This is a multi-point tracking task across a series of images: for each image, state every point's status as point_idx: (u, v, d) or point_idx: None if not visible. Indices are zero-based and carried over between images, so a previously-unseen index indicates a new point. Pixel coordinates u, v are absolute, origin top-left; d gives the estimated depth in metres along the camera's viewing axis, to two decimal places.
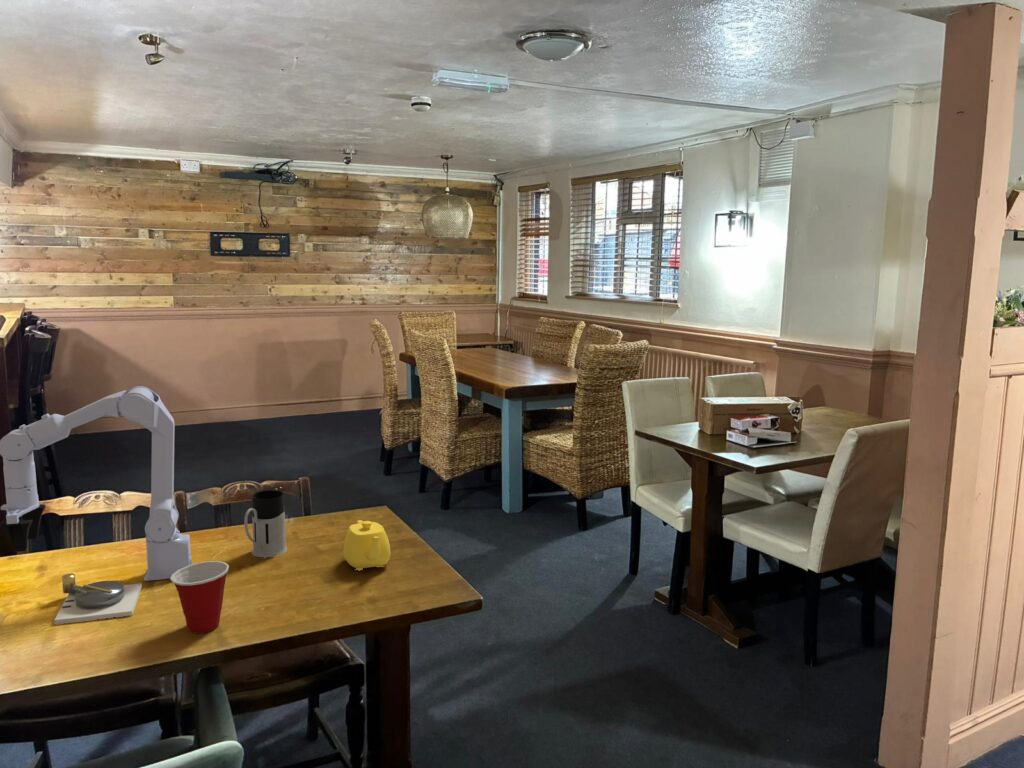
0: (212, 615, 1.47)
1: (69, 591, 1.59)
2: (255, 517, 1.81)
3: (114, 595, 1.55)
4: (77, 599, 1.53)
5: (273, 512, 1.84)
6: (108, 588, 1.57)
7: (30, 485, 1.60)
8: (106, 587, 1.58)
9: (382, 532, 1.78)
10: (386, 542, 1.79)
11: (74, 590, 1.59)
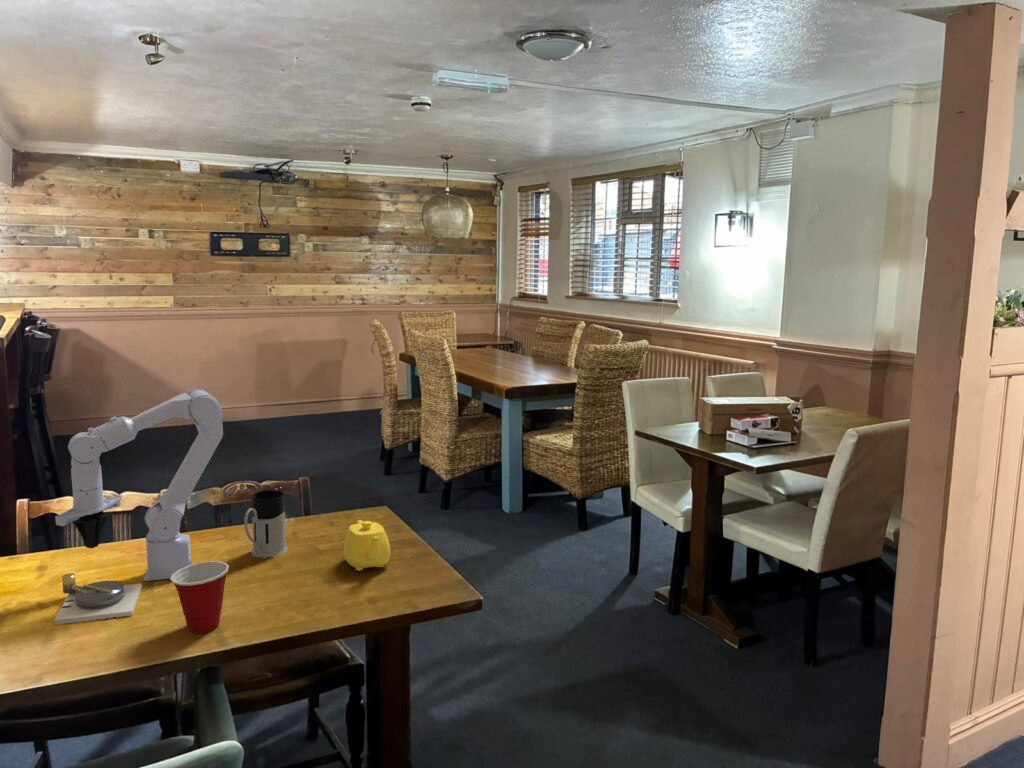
0: (212, 615, 1.47)
1: (69, 591, 1.59)
2: (255, 517, 1.81)
3: (114, 595, 1.55)
4: (77, 599, 1.53)
5: (273, 512, 1.84)
6: (108, 588, 1.57)
7: (99, 487, 1.62)
8: (106, 587, 1.58)
9: (382, 532, 1.78)
10: (386, 542, 1.79)
11: (74, 590, 1.59)
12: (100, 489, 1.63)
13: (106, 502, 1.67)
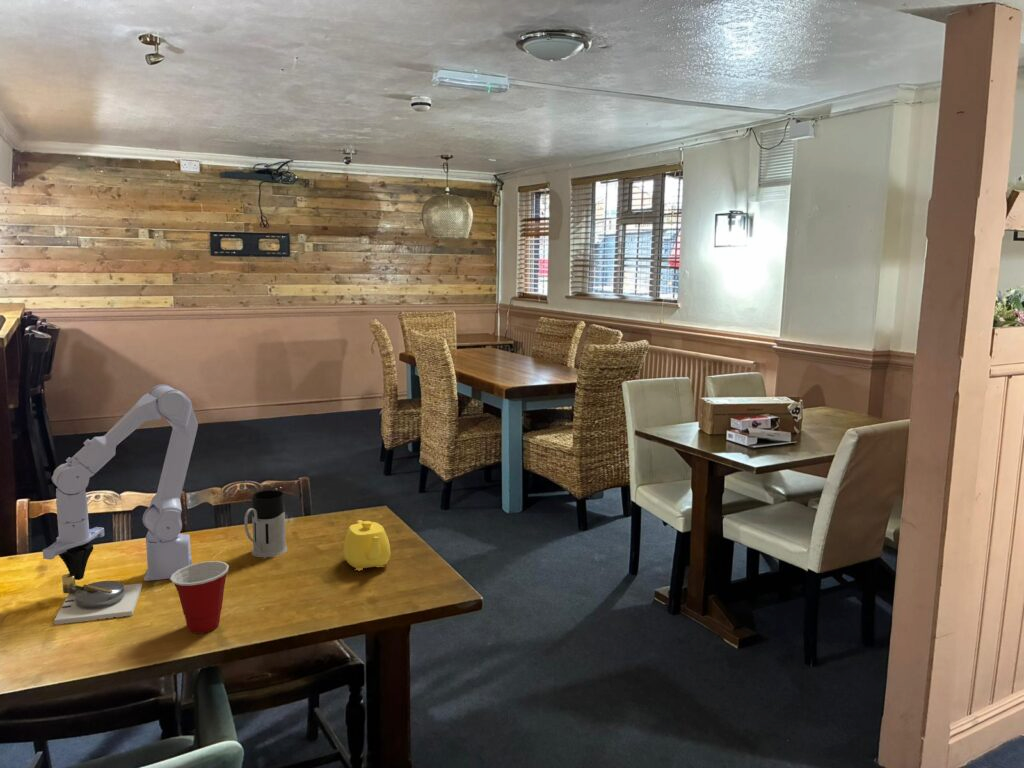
0: (212, 615, 1.47)
1: (69, 591, 1.59)
2: (255, 517, 1.81)
3: (114, 595, 1.55)
4: (77, 599, 1.53)
5: (273, 512, 1.84)
6: (108, 588, 1.57)
7: (86, 518, 1.60)
8: (106, 587, 1.58)
9: (382, 532, 1.78)
10: (386, 542, 1.79)
11: (74, 590, 1.59)
12: (87, 520, 1.60)
13: (90, 532, 1.65)
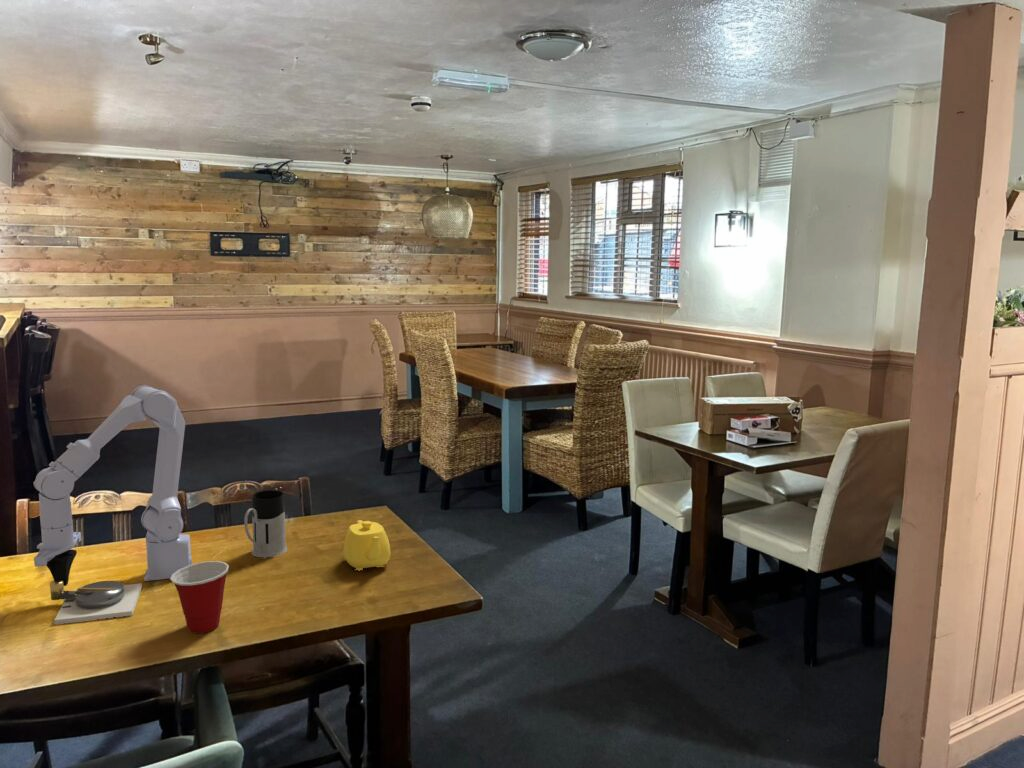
0: (212, 615, 1.47)
1: (60, 597, 1.56)
2: (255, 517, 1.81)
3: (120, 592, 1.57)
4: (82, 601, 1.53)
5: (273, 512, 1.84)
6: (108, 587, 1.58)
7: (70, 523, 1.57)
8: (105, 586, 1.58)
9: (382, 532, 1.78)
10: (386, 542, 1.79)
11: (67, 595, 1.56)
12: (72, 524, 1.58)
13: None
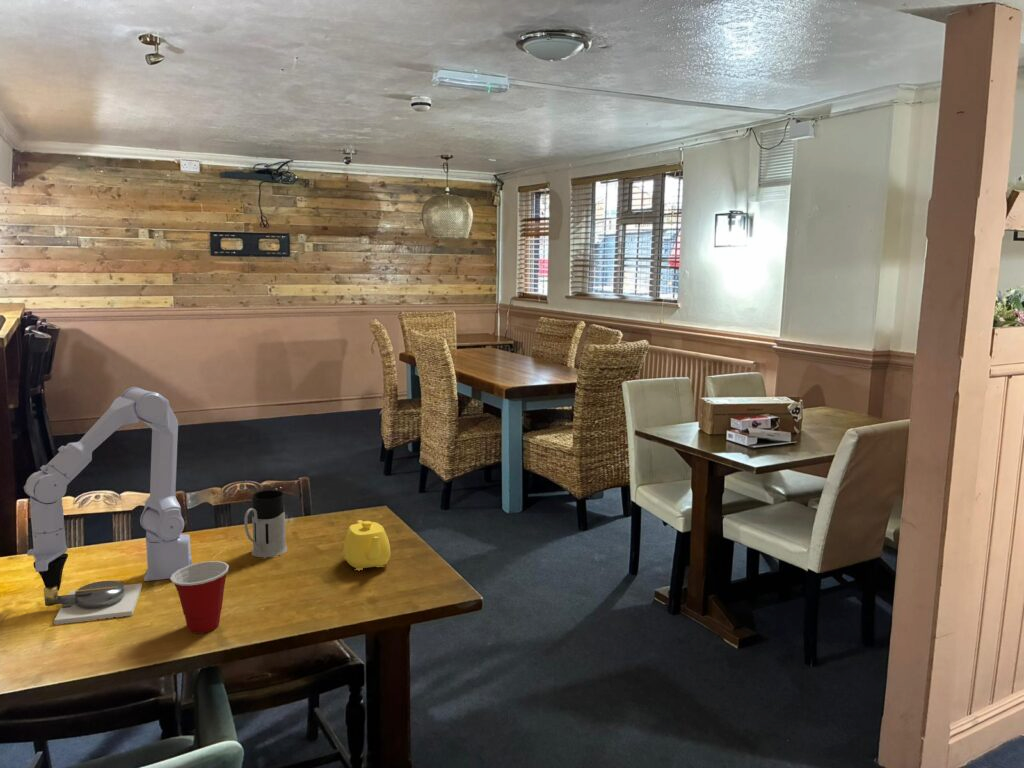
0: (212, 615, 1.47)
1: (56, 602, 1.54)
2: (255, 517, 1.81)
3: (123, 589, 1.58)
4: (89, 601, 1.53)
5: (273, 512, 1.84)
6: (107, 586, 1.58)
7: (63, 527, 1.54)
8: (103, 586, 1.58)
9: (382, 532, 1.78)
10: (386, 542, 1.79)
11: (64, 599, 1.54)
12: None
13: None
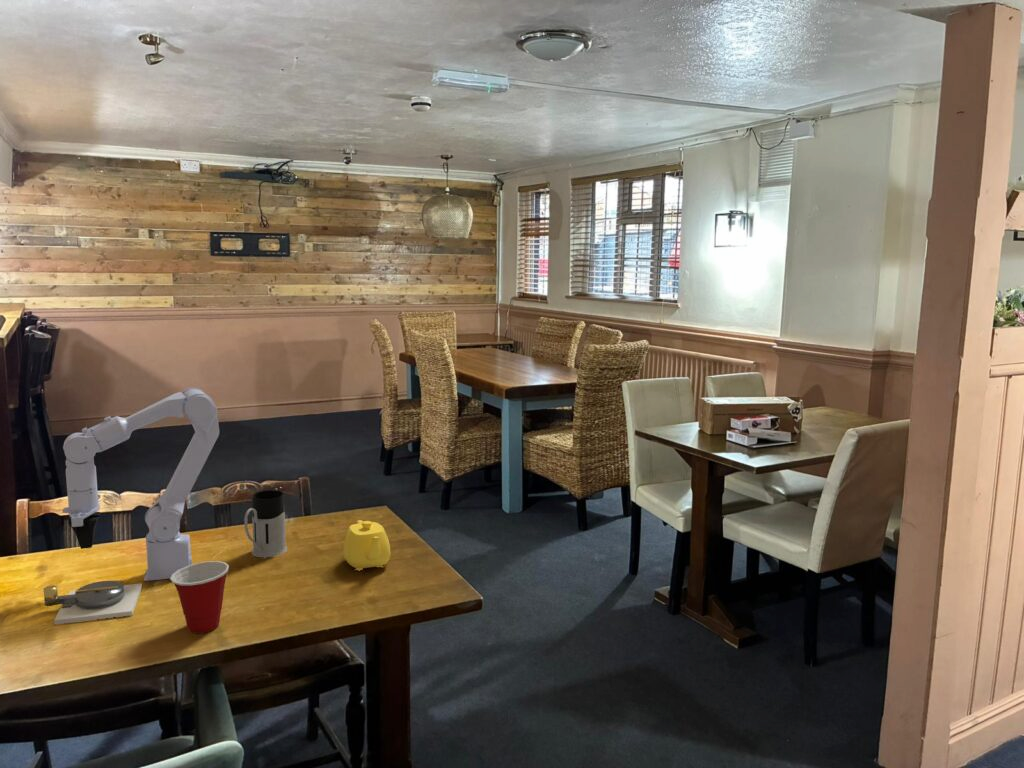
0: (212, 615, 1.47)
1: (56, 602, 1.54)
2: (255, 517, 1.81)
3: (123, 589, 1.58)
4: (89, 601, 1.53)
5: (273, 512, 1.84)
6: (107, 586, 1.58)
7: (94, 487, 1.62)
8: (103, 586, 1.58)
9: (382, 532, 1.78)
10: (386, 542, 1.79)
11: (64, 599, 1.54)
12: None
13: None
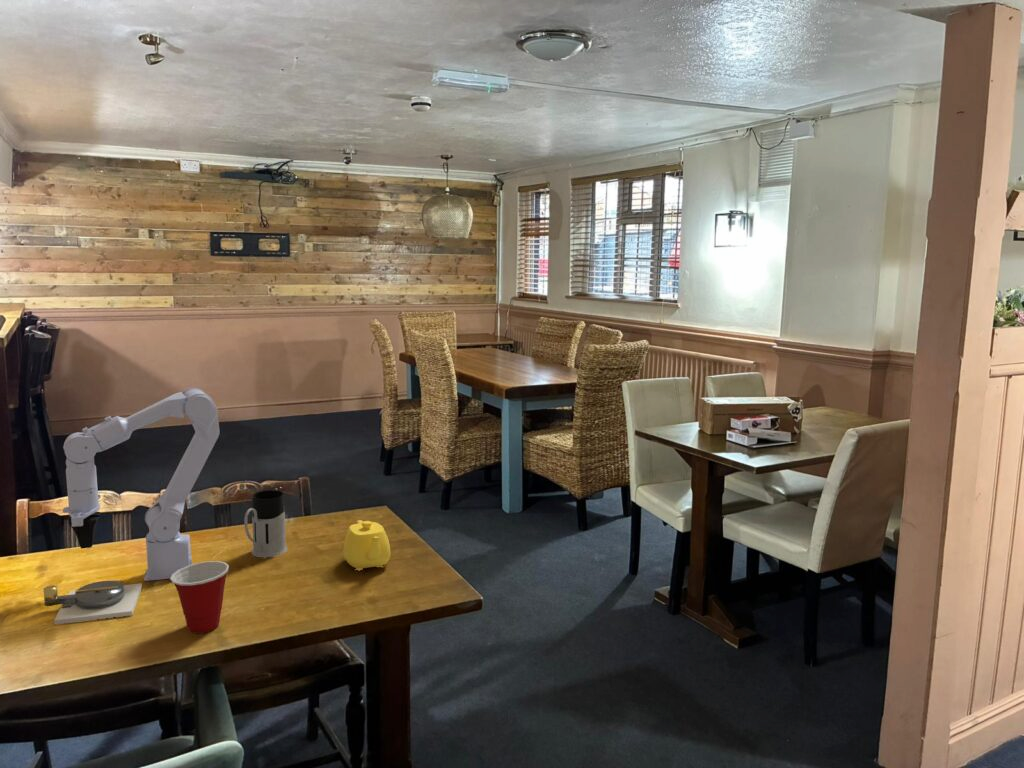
0: (212, 615, 1.47)
1: (56, 602, 1.54)
2: (255, 517, 1.81)
3: (123, 589, 1.58)
4: (89, 601, 1.53)
5: (273, 512, 1.84)
6: (107, 586, 1.58)
7: (94, 487, 1.62)
8: (103, 586, 1.58)
9: (382, 532, 1.78)
10: (386, 542, 1.79)
11: (64, 599, 1.54)
12: (97, 487, 1.64)
13: None
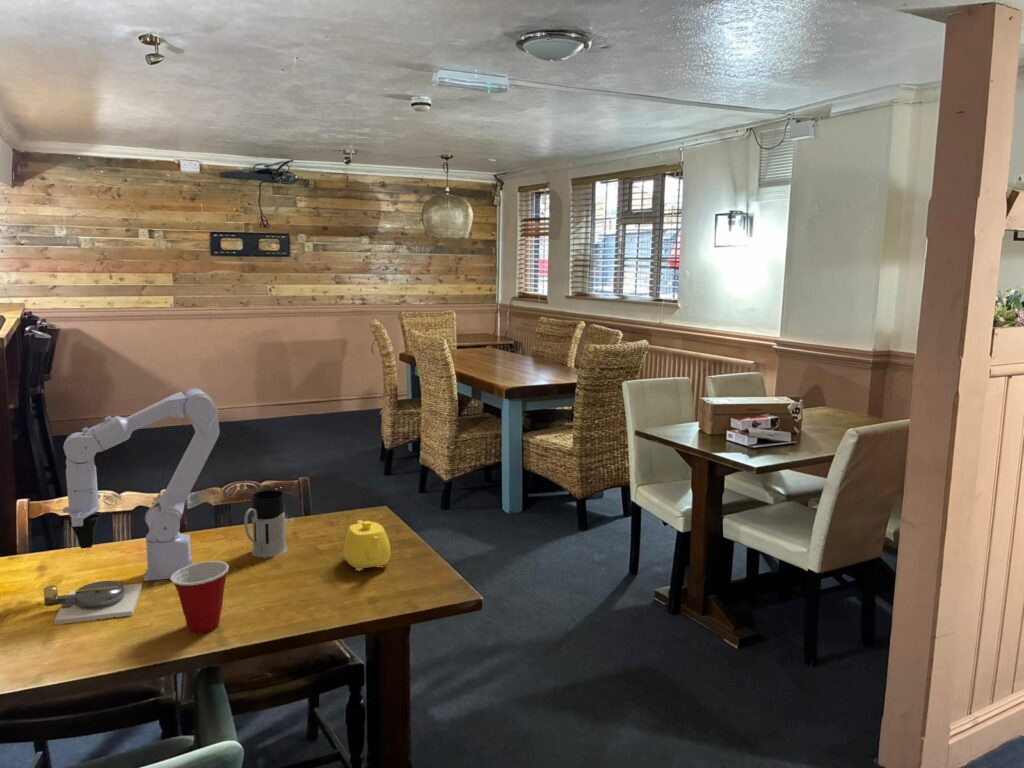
0: (212, 615, 1.47)
1: (56, 602, 1.54)
2: (255, 517, 1.81)
3: (123, 589, 1.58)
4: (89, 601, 1.53)
5: (273, 512, 1.84)
6: (107, 586, 1.58)
7: (94, 487, 1.62)
8: (103, 586, 1.58)
9: (382, 532, 1.78)
10: (386, 542, 1.79)
11: (64, 599, 1.54)
12: (97, 487, 1.64)
13: None
